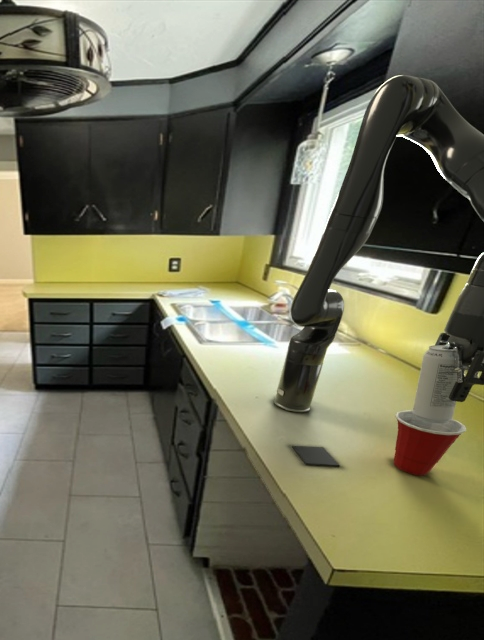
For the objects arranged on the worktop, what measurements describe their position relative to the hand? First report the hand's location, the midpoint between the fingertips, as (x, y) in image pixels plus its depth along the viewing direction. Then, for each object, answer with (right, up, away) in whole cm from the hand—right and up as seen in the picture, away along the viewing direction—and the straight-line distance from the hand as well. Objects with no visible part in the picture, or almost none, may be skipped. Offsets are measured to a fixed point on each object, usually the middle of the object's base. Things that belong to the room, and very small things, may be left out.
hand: (444, 391), depth 72 cm
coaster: (-19, -15, +11) cm, 27 cm away
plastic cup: (0, -17, +7) cm, 19 cm away
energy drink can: (0, -6, +3) cm, 6 cm away
